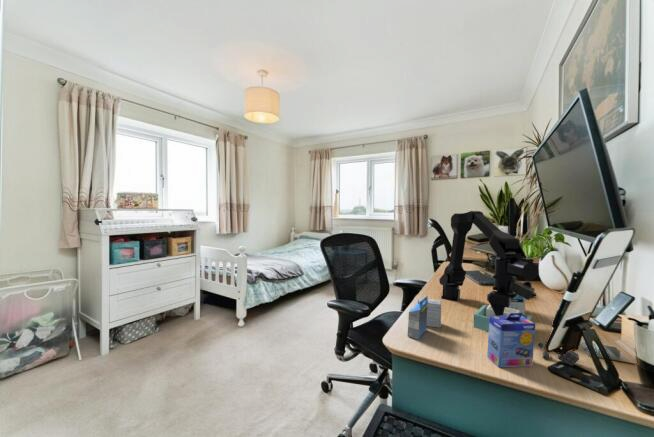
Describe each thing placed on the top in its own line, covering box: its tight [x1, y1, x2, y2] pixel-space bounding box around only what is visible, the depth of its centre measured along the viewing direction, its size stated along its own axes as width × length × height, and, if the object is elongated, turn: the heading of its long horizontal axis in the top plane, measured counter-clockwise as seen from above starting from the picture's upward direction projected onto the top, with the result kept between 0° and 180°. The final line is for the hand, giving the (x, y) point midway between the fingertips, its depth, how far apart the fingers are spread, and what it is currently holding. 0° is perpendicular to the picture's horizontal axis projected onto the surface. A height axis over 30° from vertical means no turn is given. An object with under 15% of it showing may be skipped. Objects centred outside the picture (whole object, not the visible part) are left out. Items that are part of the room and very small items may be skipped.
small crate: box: [486, 304, 520, 317], centre depth 96 cm, size 9×6×6 cm, turn 47°
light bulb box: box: [509, 292, 526, 314], centre depth 111 cm, size 11×7×11 cm, turn 168°
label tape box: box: [407, 295, 429, 340], centre depth 92 cm, size 9×4×12 cm, turn 145°
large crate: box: [473, 304, 533, 333], centre depth 96 cm, size 15×13×5 cm
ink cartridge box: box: [487, 313, 536, 368], centre depth 75 cm, size 10×6×14 cm, turn 95°
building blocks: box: [537, 341, 580, 366], centre depth 77 cm, size 3×6×8 cm
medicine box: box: [417, 297, 442, 328], centre depth 99 cm, size 8×4×9 cm, turn 71°
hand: (502, 316), depth 96 cm, fingers open, 9 cm apart
